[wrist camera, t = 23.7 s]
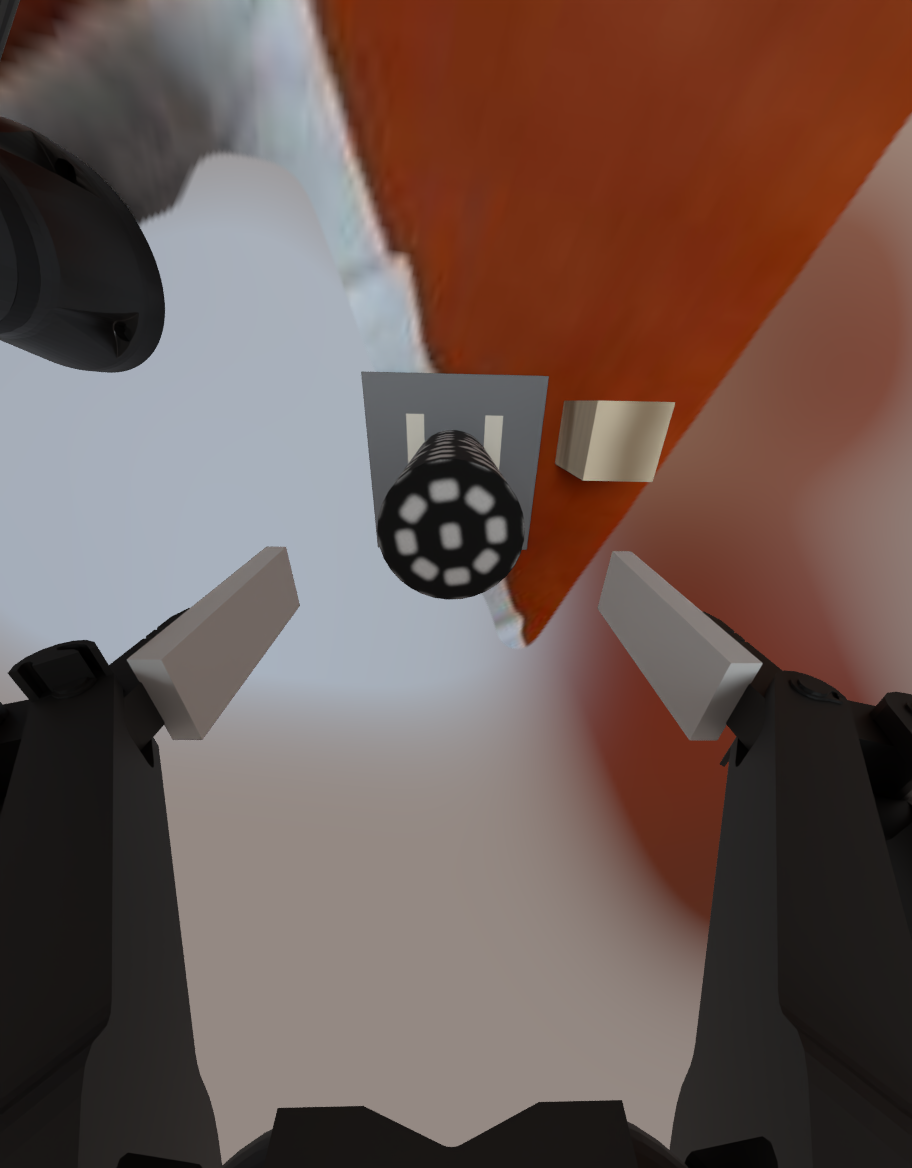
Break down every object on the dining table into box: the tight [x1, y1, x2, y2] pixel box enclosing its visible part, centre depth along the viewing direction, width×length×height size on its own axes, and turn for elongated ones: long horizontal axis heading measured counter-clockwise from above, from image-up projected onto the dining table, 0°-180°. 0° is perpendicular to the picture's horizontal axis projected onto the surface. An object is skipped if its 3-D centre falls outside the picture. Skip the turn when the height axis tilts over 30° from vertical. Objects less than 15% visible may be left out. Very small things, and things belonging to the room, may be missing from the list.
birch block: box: [555, 401, 675, 482], centre depth 32 cm, size 6×6×9 cm
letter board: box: [361, 372, 549, 550], centre depth 37 cm, size 18×18×1 cm
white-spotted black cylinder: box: [377, 430, 525, 599], centre depth 28 cm, size 8×8×20 cm
